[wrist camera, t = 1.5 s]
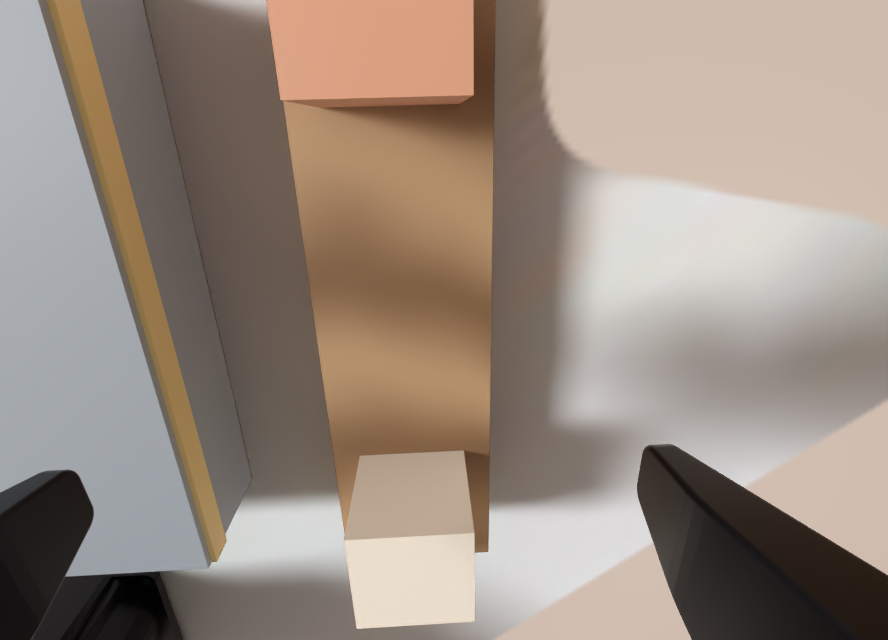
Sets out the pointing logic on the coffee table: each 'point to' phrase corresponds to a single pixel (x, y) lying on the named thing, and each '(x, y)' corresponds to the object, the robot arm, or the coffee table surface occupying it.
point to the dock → (108, 294)
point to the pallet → (403, 272)
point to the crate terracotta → (373, 51)
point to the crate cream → (411, 540)
